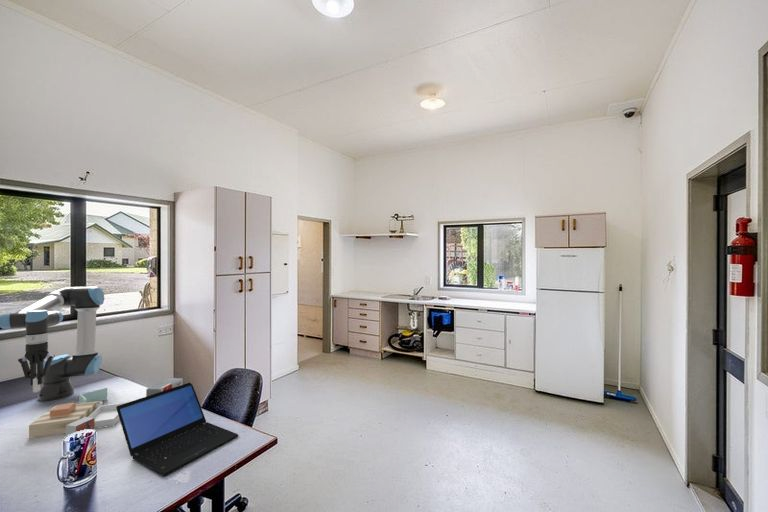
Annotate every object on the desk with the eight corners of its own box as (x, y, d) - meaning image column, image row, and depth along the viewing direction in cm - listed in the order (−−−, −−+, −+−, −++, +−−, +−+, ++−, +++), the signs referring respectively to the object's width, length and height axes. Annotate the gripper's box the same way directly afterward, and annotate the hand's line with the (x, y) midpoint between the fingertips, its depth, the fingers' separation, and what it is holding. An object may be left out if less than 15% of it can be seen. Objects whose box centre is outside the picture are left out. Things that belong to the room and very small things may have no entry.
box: (99, 412, 178) (99, 405, 178) (129, 408, 182) (129, 401, 182) (80, 430, 159) (80, 423, 159) (113, 425, 164) (113, 418, 164)
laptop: (163, 479, 125) (163, 428, 125) (115, 451, 143) (115, 406, 143) (239, 437, 154) (239, 395, 154) (191, 418, 172) (191, 380, 172)
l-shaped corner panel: (84, 413, 177) (84, 399, 177) (79, 407, 184) (79, 394, 184) (113, 405, 187) (113, 392, 187) (106, 400, 194) (106, 387, 194)
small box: (75, 450, 143) (75, 426, 143) (65, 449, 144) (65, 425, 144) (95, 440, 150) (95, 417, 150) (85, 439, 152) (85, 416, 152)
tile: (58, 410, 167) (58, 404, 167) (75, 408, 169) (75, 402, 169) (49, 417, 160) (49, 410, 160) (68, 414, 163) (68, 408, 163)
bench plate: (54, 418, 171) (54, 406, 171) (97, 412, 177) (97, 401, 177) (28, 438, 152) (28, 425, 152) (78, 431, 159) (78, 418, 159)
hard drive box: (160, 431, 158) (159, 389, 158) (145, 430, 159) (144, 389, 159) (183, 415, 173) (182, 377, 174) (170, 415, 174) (169, 377, 174)
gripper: (13, 345, 155) (13, 396, 155) (49, 343, 160) (49, 392, 160) (24, 341, 162) (24, 390, 162) (58, 339, 167) (58, 386, 167)
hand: (36, 391), depth 161 cm, fingers closed
